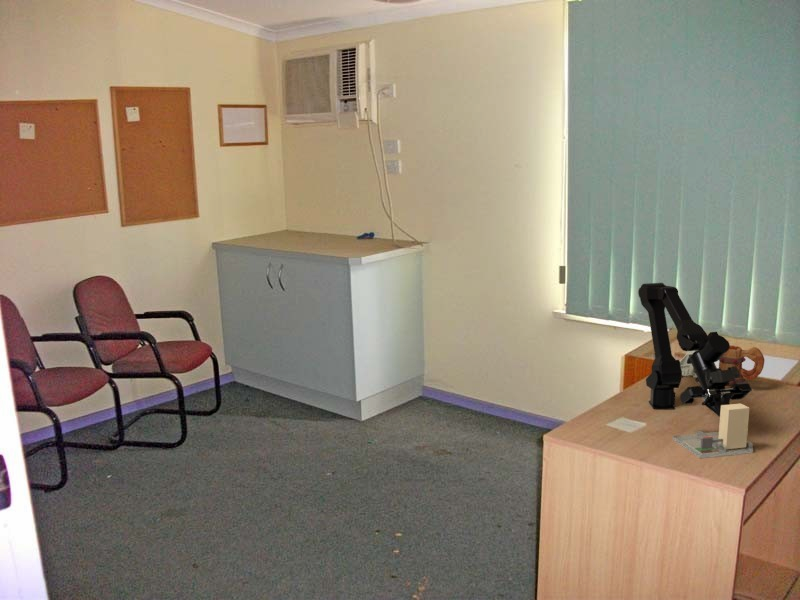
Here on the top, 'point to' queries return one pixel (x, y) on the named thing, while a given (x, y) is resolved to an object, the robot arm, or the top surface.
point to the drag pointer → (706, 442)
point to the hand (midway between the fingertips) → (727, 421)
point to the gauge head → (733, 426)
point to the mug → (736, 358)
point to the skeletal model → (687, 365)
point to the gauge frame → (718, 449)
